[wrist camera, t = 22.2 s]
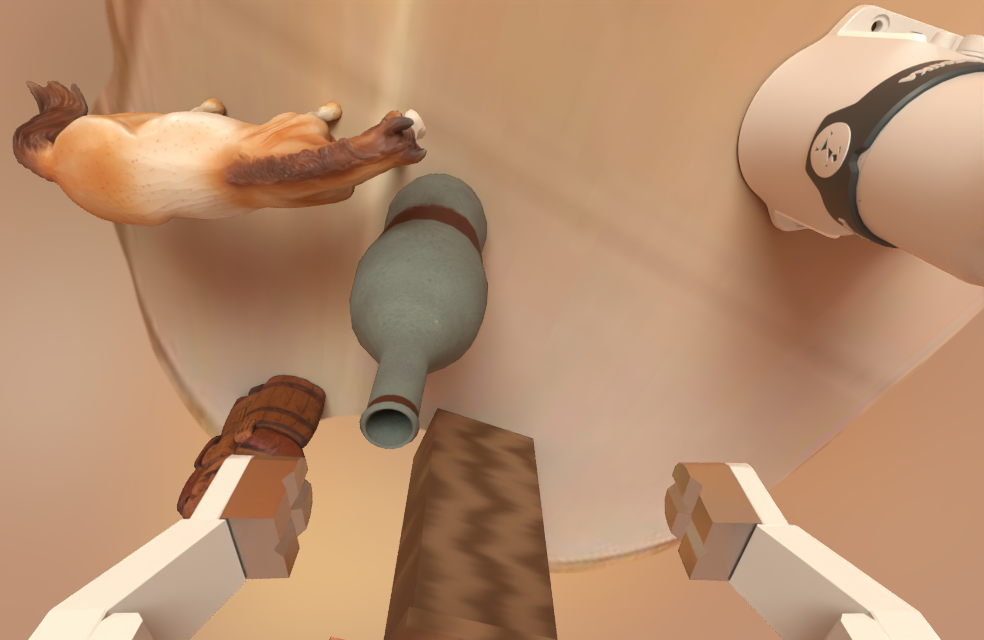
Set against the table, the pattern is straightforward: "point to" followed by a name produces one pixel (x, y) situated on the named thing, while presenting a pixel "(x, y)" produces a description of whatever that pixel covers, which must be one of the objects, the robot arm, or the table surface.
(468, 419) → the stand
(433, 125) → the table surface
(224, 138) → the horse figurine
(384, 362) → the bottle
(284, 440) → the wooden figurine
